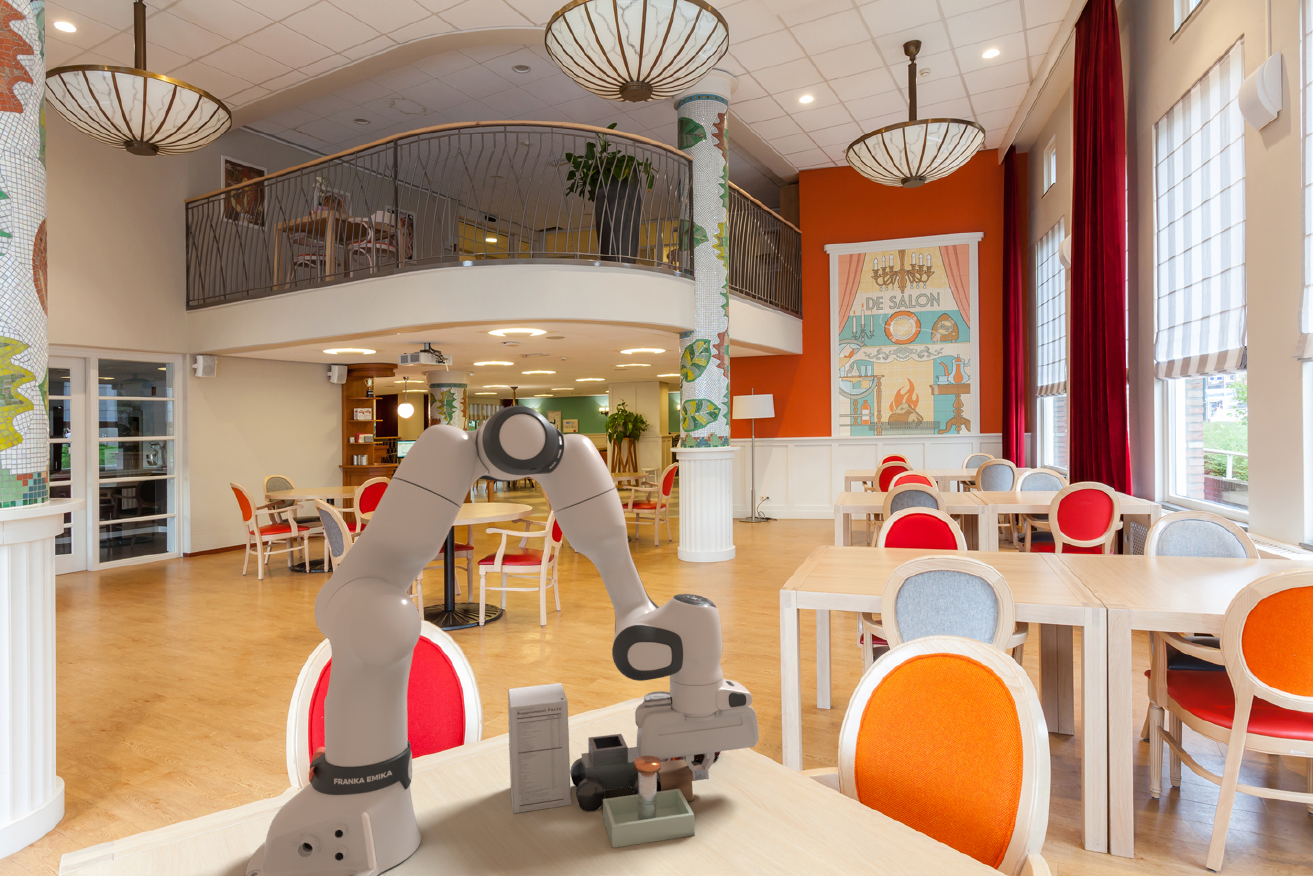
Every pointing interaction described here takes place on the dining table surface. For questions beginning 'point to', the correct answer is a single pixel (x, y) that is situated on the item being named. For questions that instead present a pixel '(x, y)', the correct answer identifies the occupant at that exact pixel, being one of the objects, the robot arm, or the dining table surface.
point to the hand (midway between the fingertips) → (699, 778)
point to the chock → (676, 777)
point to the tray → (668, 823)
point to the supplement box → (539, 747)
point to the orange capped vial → (647, 785)
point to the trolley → (604, 770)
